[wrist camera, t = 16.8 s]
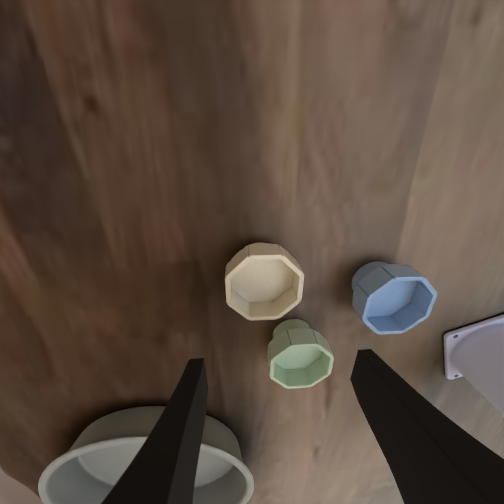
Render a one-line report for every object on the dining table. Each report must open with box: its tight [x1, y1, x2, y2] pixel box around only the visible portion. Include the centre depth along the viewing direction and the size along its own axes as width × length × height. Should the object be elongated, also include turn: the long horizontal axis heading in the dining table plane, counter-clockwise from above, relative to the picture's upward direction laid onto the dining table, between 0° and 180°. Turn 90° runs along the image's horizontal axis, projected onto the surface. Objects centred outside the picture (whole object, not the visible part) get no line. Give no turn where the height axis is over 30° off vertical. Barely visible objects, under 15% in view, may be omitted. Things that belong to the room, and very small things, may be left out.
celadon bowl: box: [267, 319, 334, 389], centre depth 22 cm, size 6×6×4 cm
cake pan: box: [38, 406, 254, 504], centre depth 30 cm, size 25×25×4 cm
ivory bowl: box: [225, 242, 304, 320], centre depth 19 cm, size 6×6×4 cm
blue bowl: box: [352, 261, 437, 335], centre depth 20 cm, size 6×6×4 cm
